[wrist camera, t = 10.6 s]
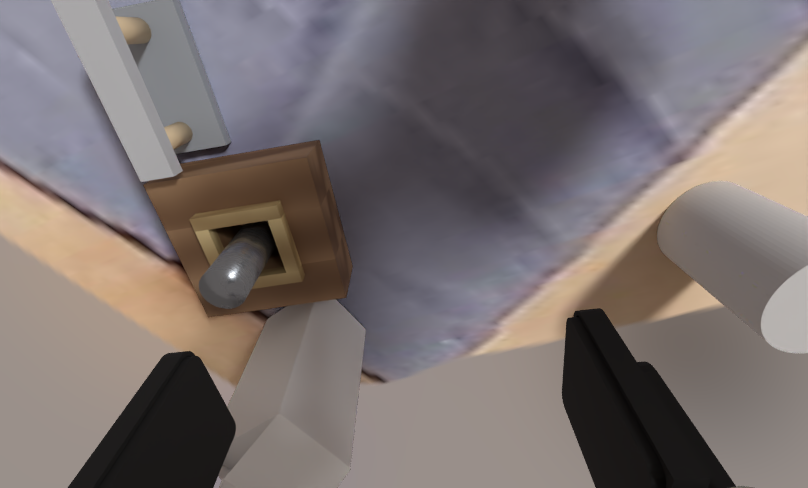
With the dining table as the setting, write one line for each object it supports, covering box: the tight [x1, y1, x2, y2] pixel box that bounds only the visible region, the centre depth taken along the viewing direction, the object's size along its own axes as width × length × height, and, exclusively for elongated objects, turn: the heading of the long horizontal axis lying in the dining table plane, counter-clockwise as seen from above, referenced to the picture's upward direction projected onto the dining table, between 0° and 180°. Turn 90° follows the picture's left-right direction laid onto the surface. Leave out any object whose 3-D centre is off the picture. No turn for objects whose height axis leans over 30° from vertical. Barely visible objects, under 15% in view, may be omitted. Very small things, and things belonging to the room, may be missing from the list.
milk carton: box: [218, 299, 366, 488], centre depth 33 cm, size 7×7×19 cm
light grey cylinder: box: [657, 181, 808, 353], centre depth 31 cm, size 8×8×12 cm
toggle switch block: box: [143, 140, 353, 317], centre depth 33 cm, size 12×12×6 cm
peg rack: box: [51, 0, 231, 182], centre depth 27 cm, size 11×6×6 cm, turn 9°
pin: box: [199, 220, 276, 309], centre depth 30 cm, size 3×3×10 cm
